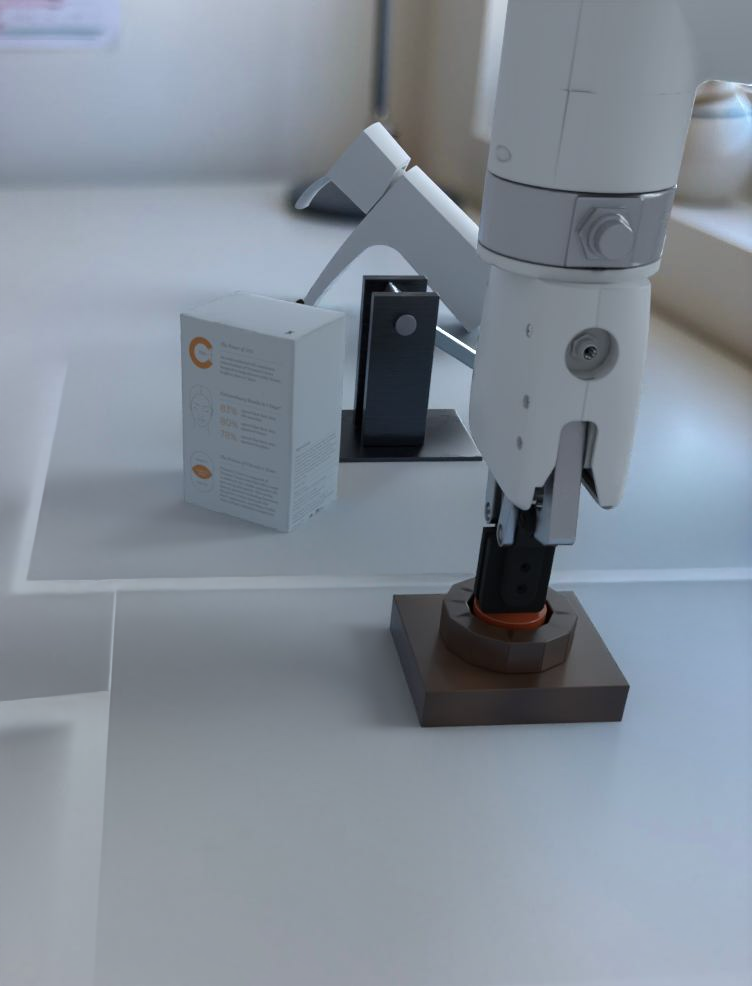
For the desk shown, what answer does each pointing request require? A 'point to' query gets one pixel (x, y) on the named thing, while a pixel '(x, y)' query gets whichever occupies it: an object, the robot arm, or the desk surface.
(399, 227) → the faucet
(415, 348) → the bracket
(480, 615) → the button
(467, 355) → the tap lever
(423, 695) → the button block
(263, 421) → the small box
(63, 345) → the desk surface
